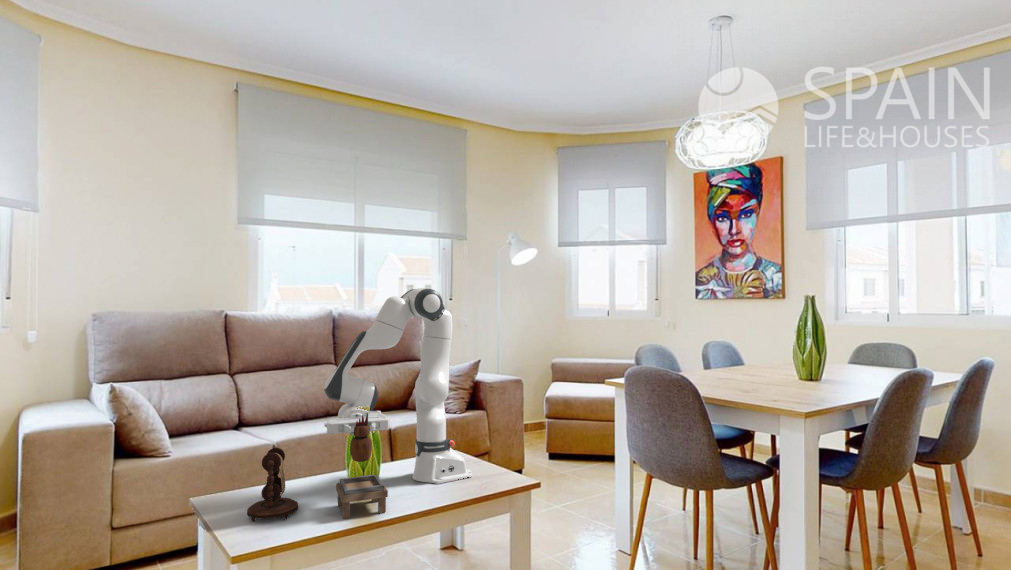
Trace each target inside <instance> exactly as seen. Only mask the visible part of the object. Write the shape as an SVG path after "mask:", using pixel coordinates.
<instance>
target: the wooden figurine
mask: <svg viewBox="0 0 1011 570" xmlns="http://www.w3.org/2000/svg"><path fill="white" fill-rule="evenodd" d="M369 434H370V432H369V427H368V413H367V416H366V419H365V422H364V417H363V415H362V421H360V418H359V423H358V421H356V427H355V428H354V435H353V436H354V437H353V438H351V440H350V444H349V445H350V446H349V449H350V450H349V453H350V456H351V459H352V460H353V462H357V463H363V462H367V461H369V459H370V458H371V456H372V450H373V440H372V439H371V438H370V437H369Z"/></svg>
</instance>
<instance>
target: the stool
mask: <svg viewBox="0 0 1011 570" xmlns="http://www.w3.org/2000/svg"><path fill="white" fill-rule="evenodd" d="M338 482H339V483H338ZM338 482H337V483H336V482H335V491H336V493H337V508H341V510H342V512H341V516H342V517H343V518H342V517H341V518H342V519H343V520H347V519H350V518H351V503H352V502H353V503H354V502H359V501H367V500H368V501H369V500H371V503H372V504H373V503H377V512H378V514H379V513H381V514H386V513H385V512H386V511H387V508H386V506H387V505H386V504H387V500H386V499H387V498H388V497H389V491H388V489H387V488H386V486H385V484H384V483H383V481H382V480H381V479H380V477H379V476H378V474H370V475H361V476H353V477H344V478H339V481H338ZM346 518H347V519H346Z"/></svg>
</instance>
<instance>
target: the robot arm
mask: <svg viewBox="0 0 1011 570" xmlns="http://www.w3.org/2000/svg"><path fill="white" fill-rule="evenodd" d="M376 315H377V316H376V317H375V320H374V322H373V324H372V325H371V327H369V328H368V329H367V330H363V331H361V332H360V333H359V334H358V335H357V336H356V337H355V339H354V340H353V342H352V343H351V345H350V346H349V348H348V349H347V351H346V352H345V354H344V355H343V357H342V358H341V360H340V362H339V363H338V365H337V366H336V367H335V369H334V370H333V372H332V373H331V374H330V375H329V377H328V378H327V380H326V382H325V384H324V388H323V392H324V393H325V395H326V396H327V398H328V399H329V400H332V401H337V402H340V403H344V404H342V405H341V407H340V408H339V410H338V414H337V418H331V419H328V420H327V421H326V422H325V423H324V424H323V426H324V428H326V433H327V435H339V434H348V435H350V436H354V428H355V427H356V421H358V423H359V418H360V421H362V415H363V417H364V422H365V419H366V416H367V413H368V427H369V433H370V432H375V431H377V432H378V431H388V430H390V427H391V425H390V424H391V421H390V418H389V417H388V416H387V415H386V414H383V413H382V411H381V410H377V409H376V410H374V409H375V407H376V405H377V403H378V398H379V390H378V387H377V385H376V383H373V382H371V381H368V380H366V379H361V378H359V377H356V376H354V375H350V373H349V371H350V370H351V368H352V366H353V365H354V364H355V361H356V360H357V358H358V357H359V356H360V354H361V353H363V352H365V351H368V350H387V349H391V348H394V347H395V346H396V345H397V344H399V342H400V340H401V338H402V336H403V333H404V331H405V328H406V326H407V323H408V322H409V320H410V319H411V318H413V317H415V318H420V319H422V321H423V324H424V330H423V337H422V344H421V352H420V353H421V354H420V371H419V372H420V373H419V374H420V375H419V376H417V378H416V380H415V383H414V384H415V385H414V392H415V393H414V394H415V395H414V396H415V413H416V439H415V444H414V445H415V446H414V452H415V462H414V463H415V464H414V469H413V474H412V480H414V481H417V482H422V483H430V484H431V483H432V484H438V485H439V484H443V483H449V482H454V481H458V479H459V480H463V478H464V479H468V478H467V477H469V478H471V476H473V472H472V470H471V469H470V468H467V464H466V460H465V458H464V457H463V456H462V455H461V454H460V453H458V452H457V451H455V450H454V449H453V448H452V447H454V446H455V444H456V443H455V441H454V440H451V439H450V438H447V415H446V409H445V408H446V407H445V401H446V400H447V398H448V396H449V390H450V388H449V387H450V358H451V351H452V350H451V349H452V341H453V328H454V327H453V324H454V322H453V315H452V313H451V312H450V311H449V310H447V309H445V305H444V301H443V298H442V296H441V294H440V293H439V292H438V291H437V290H435V289H432V288H425V287H419V288H414V289H413V288H412V289H410V290H408V291H406V292H405V293H404V294H403V295H401V296H390V297H388V298H387V299H386V300H385V301H384V303H383V304H382V306H381V307H380V310H379V311H378V313H377V314H376ZM359 406H369V407H370V411H369V410H368V411H367V410H364V409H360V408H361V407H360V408H358V407H359ZM357 408H358V409H357Z"/></svg>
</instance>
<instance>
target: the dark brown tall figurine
mask: <svg viewBox="0 0 1011 570" xmlns="http://www.w3.org/2000/svg"><path fill="white" fill-rule="evenodd" d="M285 458H286V453H285V451H284V450H283V449H282V448H280V447H272V448H270V449H269V450H268V451H267V453H266V454H265V455H264V456H263V457H262V459H261V466H262V468H263V470H265V471H266V472H267V476H266V484H265V485H264V486H263V488H262V489H261V494H260V495H261V497H262V500H259V501H256V502H255V503H253V504H252V505H250V506H249V507H248V508H247V512H246V513H247V516H248V517H249V518H251V521H252V523H255V521H256V520H270V519H278V518H281V517H284V519H285V520H288V519H289V515H291V514H293V513H295V512H297V511H298V509H299V502H298V501H297V500H295V499H293V498H289V497H282V496H283V495H284V493H285V491H286V478H285V473H284V462H285V461H284V460H285ZM279 473H280V477H279Z"/></svg>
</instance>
